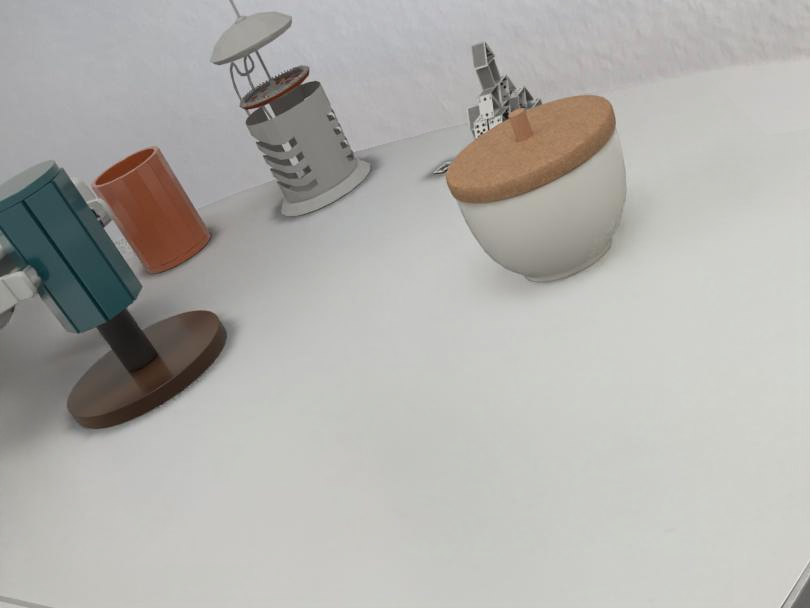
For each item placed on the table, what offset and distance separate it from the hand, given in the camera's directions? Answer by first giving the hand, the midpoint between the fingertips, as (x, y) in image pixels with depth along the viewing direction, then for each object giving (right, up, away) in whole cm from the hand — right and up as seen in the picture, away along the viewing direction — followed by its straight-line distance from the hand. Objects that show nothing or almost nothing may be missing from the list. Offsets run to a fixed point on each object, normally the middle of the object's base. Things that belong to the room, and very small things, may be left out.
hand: (70, 244), depth 72 cm
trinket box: (+36, -4, -8) cm, 37 cm away
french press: (+15, +15, +24) cm, 32 cm away
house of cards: (+31, +14, +14) cm, 37 cm away
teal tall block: (+1, -3, +4) cm, 5 cm away
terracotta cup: (0, +10, +28) cm, 30 cm away
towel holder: (+3, -7, +8) cm, 11 cm away
